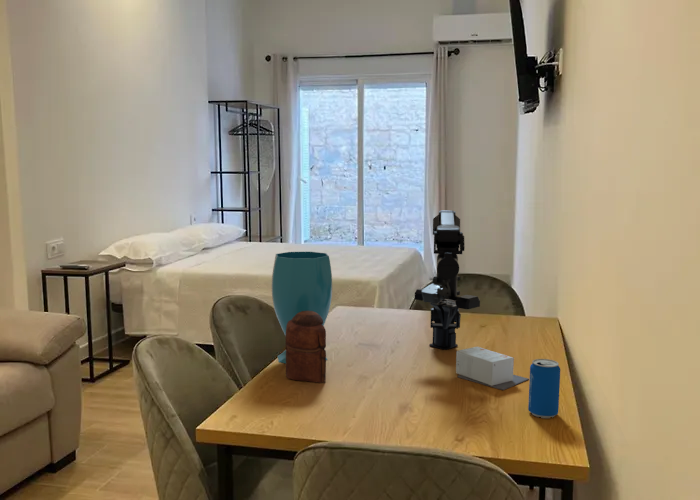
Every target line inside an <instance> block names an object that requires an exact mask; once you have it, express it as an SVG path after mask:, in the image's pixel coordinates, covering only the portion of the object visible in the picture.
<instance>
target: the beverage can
mask: <svg viewBox="0 0 700 500" xmlns="http://www.w3.org/2000/svg"><path fill="white" fill-rule="evenodd" d="M560 384H561V367H560V366H559V362H558V361H556V360H554V359H549V358H536V359H533V360H532V362H531V364H530V366H529V384H528V386H529V387H528V406H527V407H528V411H529V412H530V413H531V415H532V416H534V417H536V418H539V417H541V418H540V419H551V418H550V417H552V418H554V417H555V416H557V415H558V414H559V408H560V407H559V404H560Z"/></svg>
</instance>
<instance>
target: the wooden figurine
mask: <svg viewBox="0 0 700 500" xmlns="http://www.w3.org/2000/svg"><path fill="white" fill-rule="evenodd" d="M322 324H323V319H322V317H321V316H320V315H319V314H317V313H316V312H314V311H301V312H299V313H297V314H296V315H295V316H294V317H293V318H292V320H290V321H288V323H287V326H286V336H285V350H286V364H285V377H286V378H287V379H290V380H293V381H299V382H300V381H301V382H302V381H303V382H310V383H311V382H312V383H319V384H320V383H321V384H322V383H326V379H327V376H326V375H327V360H326V358H327V350H326V347H327V333H326V332H327V331H326V328H325V325H324V326H323V325H322Z"/></svg>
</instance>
